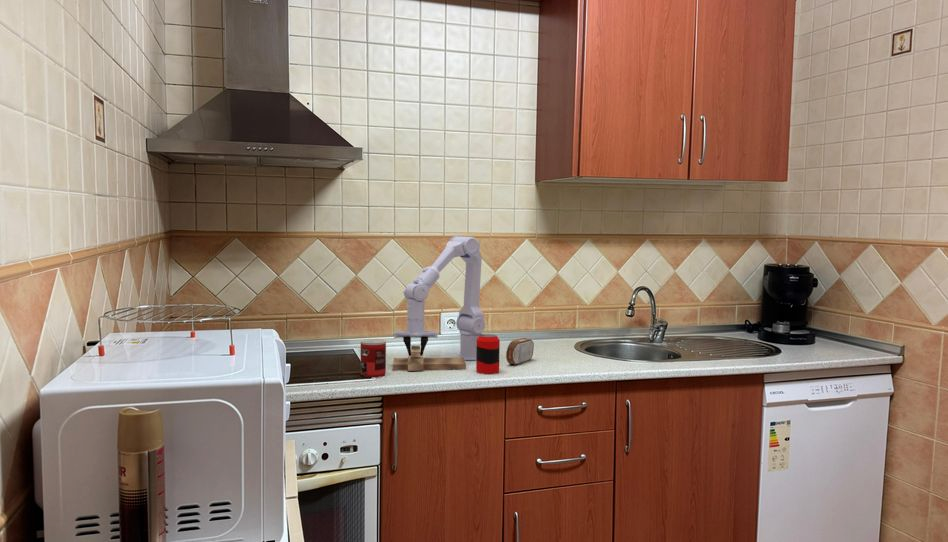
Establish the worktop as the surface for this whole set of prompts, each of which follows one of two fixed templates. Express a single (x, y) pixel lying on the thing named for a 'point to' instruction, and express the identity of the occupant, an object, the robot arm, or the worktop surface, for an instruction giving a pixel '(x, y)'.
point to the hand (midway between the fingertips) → (415, 358)
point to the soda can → (487, 354)
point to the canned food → (373, 357)
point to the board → (432, 363)
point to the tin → (519, 351)
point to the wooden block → (415, 359)
